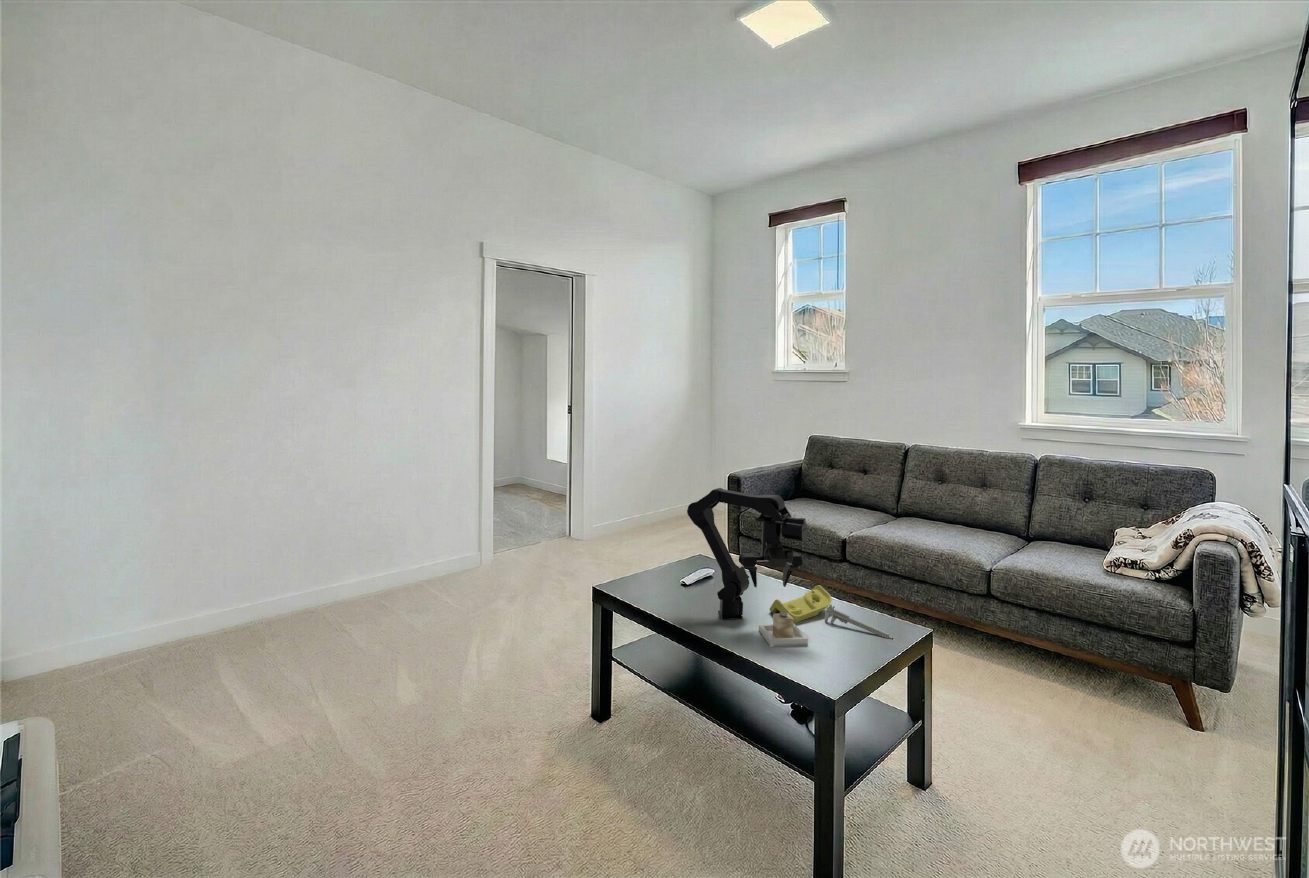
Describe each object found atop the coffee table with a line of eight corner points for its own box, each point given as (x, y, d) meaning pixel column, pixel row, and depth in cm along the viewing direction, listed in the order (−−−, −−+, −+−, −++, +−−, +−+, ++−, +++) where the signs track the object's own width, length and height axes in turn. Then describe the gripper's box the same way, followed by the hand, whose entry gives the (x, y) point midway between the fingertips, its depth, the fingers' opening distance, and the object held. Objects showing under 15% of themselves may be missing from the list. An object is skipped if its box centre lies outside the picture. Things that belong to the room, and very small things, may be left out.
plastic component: (794, 618, 184) (773, 595, 191) (787, 635, 187) (767, 612, 194) (837, 602, 195) (816, 581, 202) (830, 618, 198) (809, 597, 205)
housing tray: (770, 646, 168) (770, 639, 168) (758, 631, 179) (758, 624, 179) (807, 645, 170) (808, 638, 169) (793, 629, 180) (794, 623, 180)
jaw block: (777, 639, 172) (778, 615, 171) (772, 633, 176) (773, 610, 176) (792, 639, 172) (793, 615, 172) (787, 632, 177) (788, 609, 176)
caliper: (824, 623, 187) (825, 603, 186) (825, 622, 188) (826, 602, 187) (892, 640, 175) (893, 619, 174) (893, 639, 176) (894, 618, 175)
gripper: (749, 544, 173) (747, 596, 174) (811, 543, 175) (809, 595, 176) (739, 534, 184) (737, 584, 185) (797, 534, 186) (795, 582, 187)
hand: (769, 586), depth 183 cm, fingers open, 9 cm apart
